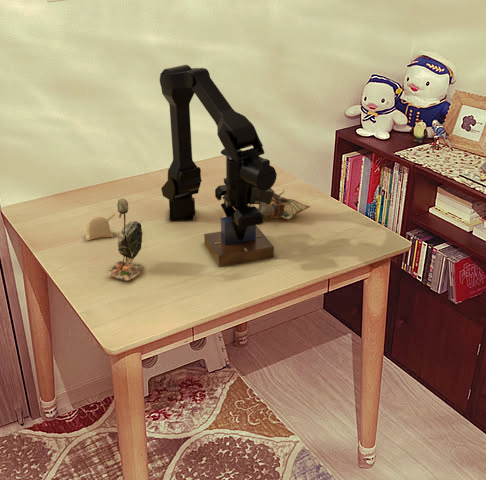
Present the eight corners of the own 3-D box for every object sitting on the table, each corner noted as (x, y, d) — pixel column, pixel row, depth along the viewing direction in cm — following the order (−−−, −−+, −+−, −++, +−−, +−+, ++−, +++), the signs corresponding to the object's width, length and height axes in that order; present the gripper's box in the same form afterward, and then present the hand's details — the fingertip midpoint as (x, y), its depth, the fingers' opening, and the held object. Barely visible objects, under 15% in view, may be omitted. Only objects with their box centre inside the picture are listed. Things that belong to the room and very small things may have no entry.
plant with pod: (156, 266, 173) (150, 188, 161) (124, 286, 165) (117, 206, 154) (130, 256, 177) (123, 180, 165) (98, 276, 169) (89, 198, 158)
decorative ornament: (84, 234, 187) (81, 215, 184) (116, 229, 189) (114, 211, 186) (86, 241, 184) (84, 222, 181) (118, 236, 186) (116, 217, 183)
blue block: (224, 245, 174) (224, 222, 171) (221, 239, 176) (220, 216, 173) (255, 240, 176) (256, 217, 172) (251, 234, 178) (251, 211, 175)
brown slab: (219, 267, 171) (218, 255, 170) (204, 244, 181) (204, 233, 179) (273, 257, 175) (274, 246, 173) (256, 235, 184) (256, 224, 183)
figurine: (252, 180, 201) (313, 185, 198) (251, 201, 204) (311, 205, 201) (241, 206, 184) (307, 211, 181) (240, 228, 187) (305, 234, 184)
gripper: (285, 187, 161) (283, 248, 170) (257, 158, 176) (256, 215, 185) (239, 194, 159) (239, 255, 168) (213, 164, 174) (215, 222, 182)
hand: (238, 236), depth 176 cm, fingers closed on blue block, 3 cm apart
